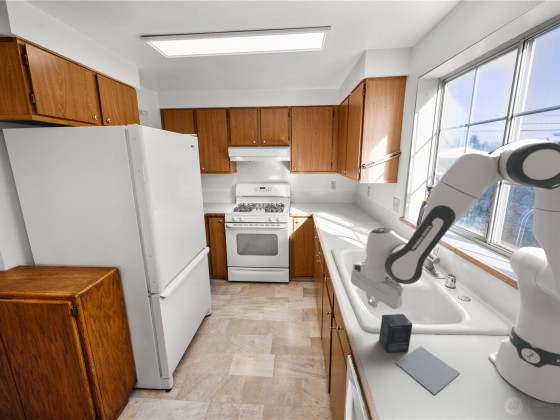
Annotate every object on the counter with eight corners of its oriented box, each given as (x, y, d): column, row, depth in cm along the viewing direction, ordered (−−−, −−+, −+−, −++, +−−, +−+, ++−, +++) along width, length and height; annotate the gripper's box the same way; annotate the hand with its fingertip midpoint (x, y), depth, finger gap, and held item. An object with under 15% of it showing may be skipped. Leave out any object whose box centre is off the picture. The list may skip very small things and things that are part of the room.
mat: (420, 346, 84) (420, 346, 84) (459, 373, 74) (459, 372, 74) (395, 363, 77) (395, 362, 77) (434, 395, 67) (434, 394, 67)
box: (399, 339, 87) (403, 313, 85) (408, 351, 82) (413, 324, 79) (378, 340, 86) (381, 314, 84) (386, 352, 81) (390, 325, 78)
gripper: (409, 282, 80) (403, 319, 83) (361, 259, 97) (357, 290, 100) (397, 287, 77) (391, 325, 80) (349, 262, 94) (346, 294, 97)
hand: (372, 305), depth 90 cm, fingers closed
